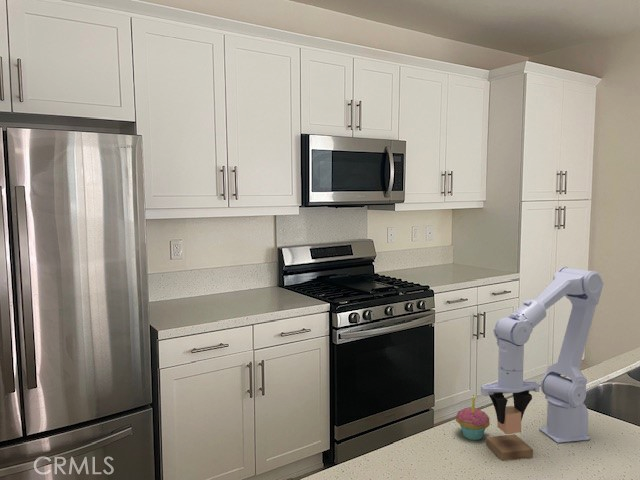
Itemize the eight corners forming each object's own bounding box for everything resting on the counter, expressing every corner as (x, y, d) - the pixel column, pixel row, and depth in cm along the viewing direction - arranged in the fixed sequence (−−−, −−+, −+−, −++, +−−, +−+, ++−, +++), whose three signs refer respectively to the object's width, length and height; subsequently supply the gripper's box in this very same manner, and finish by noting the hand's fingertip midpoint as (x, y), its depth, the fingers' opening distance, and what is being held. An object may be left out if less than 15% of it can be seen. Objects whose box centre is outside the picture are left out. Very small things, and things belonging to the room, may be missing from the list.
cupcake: (491, 444, 130) (492, 398, 129) (456, 441, 131) (457, 396, 130) (487, 429, 138) (488, 386, 137) (454, 427, 140) (455, 384, 139)
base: (514, 441, 131) (514, 434, 131) (532, 457, 123) (533, 449, 123) (485, 444, 130) (485, 437, 130) (502, 460, 122) (502, 452, 122)
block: (521, 432, 125) (521, 412, 124) (506, 434, 124) (506, 414, 123) (512, 425, 128) (512, 405, 128) (497, 426, 128) (497, 407, 127)
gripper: (528, 360, 130) (526, 412, 131) (475, 364, 127) (474, 416, 129) (545, 369, 123) (543, 424, 124) (489, 373, 120) (488, 429, 122)
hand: (509, 421), depth 126 cm, fingers closed on block, 4 cm apart
